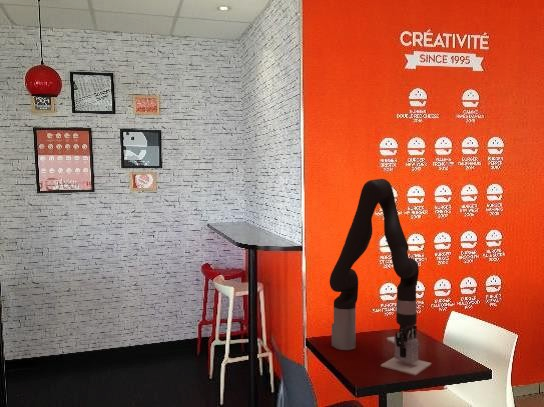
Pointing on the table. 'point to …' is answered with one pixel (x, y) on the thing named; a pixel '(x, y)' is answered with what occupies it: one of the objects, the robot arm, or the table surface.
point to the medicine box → (407, 351)
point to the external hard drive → (391, 339)
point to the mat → (406, 366)
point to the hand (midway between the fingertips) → (406, 355)
